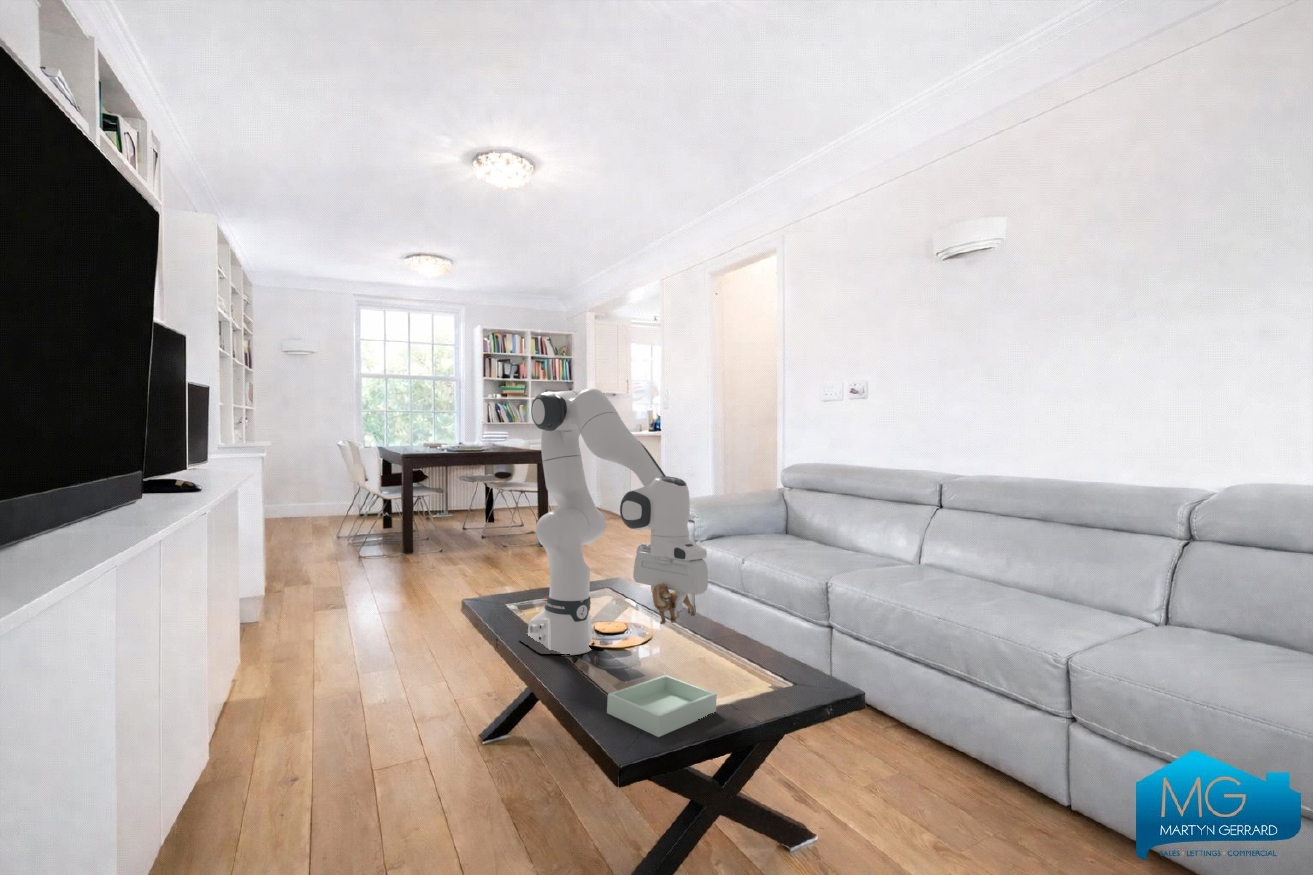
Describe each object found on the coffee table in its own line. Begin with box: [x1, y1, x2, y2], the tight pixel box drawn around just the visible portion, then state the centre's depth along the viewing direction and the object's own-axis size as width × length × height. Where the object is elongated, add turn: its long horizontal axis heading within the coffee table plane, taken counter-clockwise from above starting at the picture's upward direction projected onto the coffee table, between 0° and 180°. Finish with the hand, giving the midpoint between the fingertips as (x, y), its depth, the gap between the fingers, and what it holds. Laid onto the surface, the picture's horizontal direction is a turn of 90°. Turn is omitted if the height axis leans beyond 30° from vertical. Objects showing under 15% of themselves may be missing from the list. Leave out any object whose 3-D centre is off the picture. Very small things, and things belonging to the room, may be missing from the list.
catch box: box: [606, 674, 718, 738], centre depth 135 cm, size 15×18×4 cm
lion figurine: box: [651, 584, 696, 625], centre depth 147 cm, size 15×5×9 cm, turn 152°
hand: (668, 607), depth 145 cm, fingers closed on lion figurine, 4 cm apart
